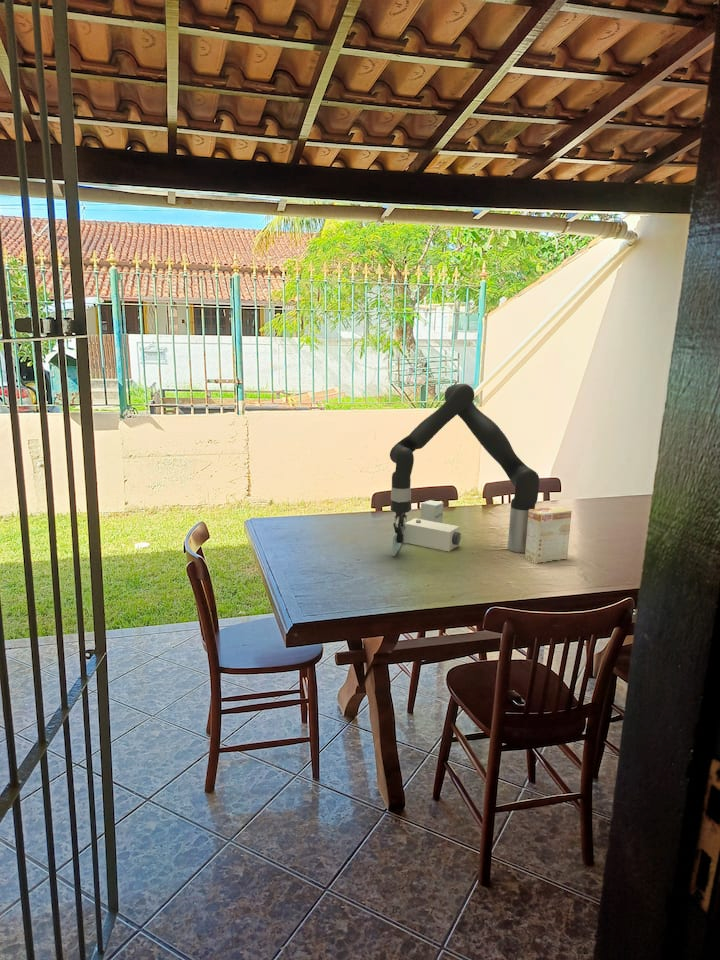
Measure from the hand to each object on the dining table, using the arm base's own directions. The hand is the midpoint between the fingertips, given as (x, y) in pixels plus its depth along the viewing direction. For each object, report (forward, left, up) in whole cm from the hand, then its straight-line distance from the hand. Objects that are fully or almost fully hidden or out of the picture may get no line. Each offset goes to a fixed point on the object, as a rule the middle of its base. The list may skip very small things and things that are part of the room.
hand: (400, 542), depth 238 cm
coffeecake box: (-48, -29, -5) cm, 56 cm away
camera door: (+3, -5, -4) cm, 7 cm away
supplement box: (+4, -36, -5) cm, 36 cm away
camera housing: (-4, -19, -5) cm, 20 cm away
